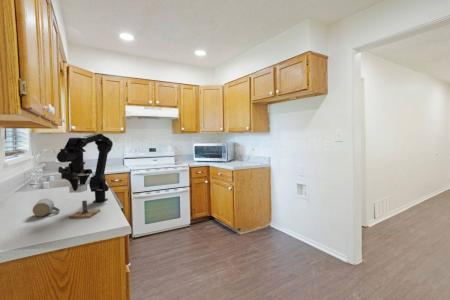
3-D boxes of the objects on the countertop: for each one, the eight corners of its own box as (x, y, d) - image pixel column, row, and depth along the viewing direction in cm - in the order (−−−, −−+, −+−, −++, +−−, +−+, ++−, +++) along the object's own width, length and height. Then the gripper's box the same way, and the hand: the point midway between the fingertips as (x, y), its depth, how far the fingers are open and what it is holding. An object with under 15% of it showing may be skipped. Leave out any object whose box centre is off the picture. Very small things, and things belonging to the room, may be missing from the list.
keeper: (80, 211, 123) (79, 198, 123) (100, 211, 124) (99, 198, 123) (68, 218, 113) (68, 204, 113) (90, 217, 114) (89, 203, 113)
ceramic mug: (31, 218, 114) (31, 202, 114) (36, 213, 122) (36, 199, 121) (58, 215, 119) (57, 200, 119) (61, 211, 126) (60, 196, 126)
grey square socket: (76, 190, 130) (76, 184, 129) (87, 190, 130) (87, 183, 130) (69, 192, 124) (69, 186, 123) (81, 192, 124) (80, 185, 124)
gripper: (72, 159, 135) (73, 186, 136) (49, 162, 116) (51, 193, 117) (92, 159, 135) (93, 186, 136) (72, 162, 117) (73, 193, 117)
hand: (78, 189), depth 127 cm, fingers closed on grey square socket, 6 cm apart
